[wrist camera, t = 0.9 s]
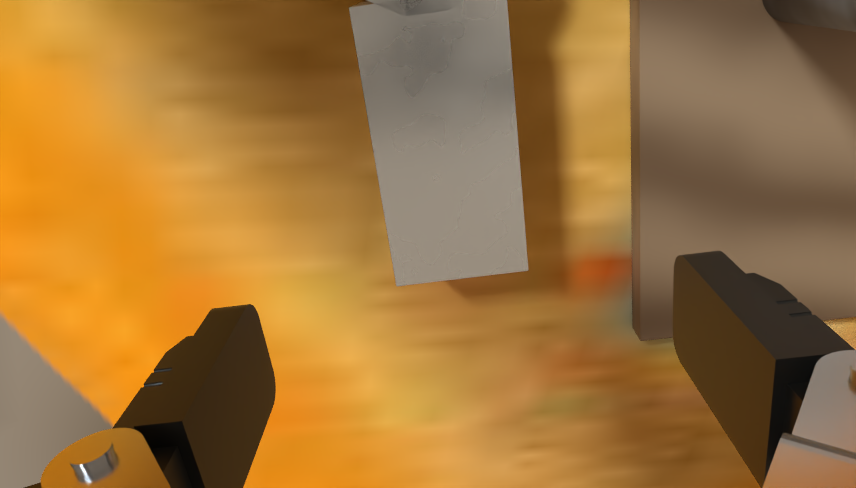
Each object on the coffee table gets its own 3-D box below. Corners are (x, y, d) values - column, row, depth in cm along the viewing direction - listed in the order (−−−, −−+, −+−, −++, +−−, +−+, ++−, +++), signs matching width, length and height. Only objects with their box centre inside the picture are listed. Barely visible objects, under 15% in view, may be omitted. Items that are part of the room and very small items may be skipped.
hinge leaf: (319, -167, 22) (296, -195, 18) (493, -194, 21) (507, -229, 18) (389, 246, 28) (383, 287, 24) (526, 229, 27) (541, 269, 24)
